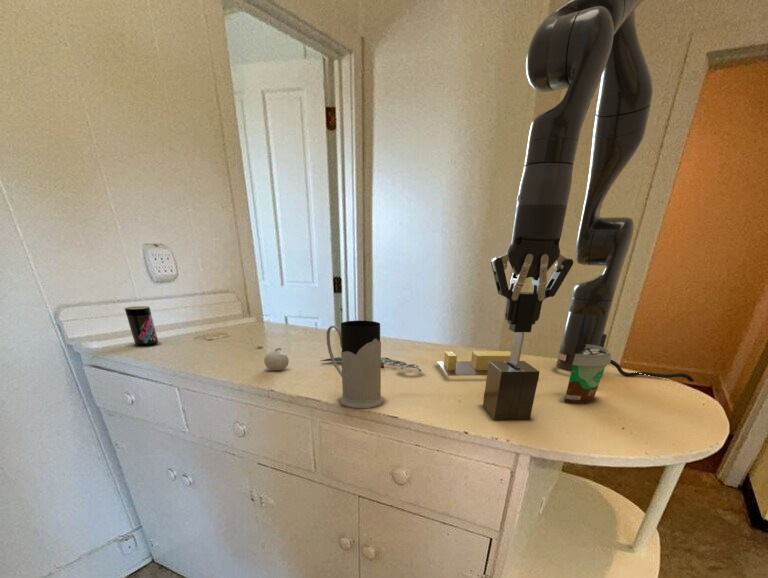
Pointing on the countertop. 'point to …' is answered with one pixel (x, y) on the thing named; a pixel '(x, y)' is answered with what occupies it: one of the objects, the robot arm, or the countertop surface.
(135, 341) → the supplement container
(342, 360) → the glass holder
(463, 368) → the rectangular tray
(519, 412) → the knife block
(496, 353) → the butter
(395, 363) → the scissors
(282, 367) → the garlic
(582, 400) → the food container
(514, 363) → the kitchen knife
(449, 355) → the butter slice
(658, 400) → the countertop surface
